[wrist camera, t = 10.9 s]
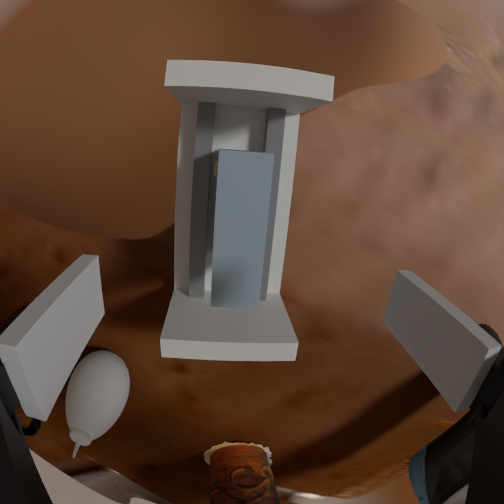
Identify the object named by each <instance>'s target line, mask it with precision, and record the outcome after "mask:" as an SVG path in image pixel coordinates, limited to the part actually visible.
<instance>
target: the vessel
mask: <svg viewBox="0 0 504 504" xmlns="http://www.w3.org/2000/svg"><path fill="white" fill-rule="evenodd" d="M204 456H205V457H204V460H205V462H206V463H208V465H210V473H209V483H208V486H209V489H210V492H209V498H210V501H209V504H280V500H279V498H278V495H277V491H276V487H275V483H274V478H273V474H272V470H271V469H270V466H271V464H272V460H271V459H269V458H268V457H271V452H270V451H269V447H265V448H263V446H262V445H261V444H255V445H254V444H253V443H250V444H246V443H243V442H235V443H227V442H224V443H223V444H219V445H215V446H213V447H212V448H211V449H210V450H207V451H205V453H204Z"/></svg>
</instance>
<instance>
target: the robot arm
mask: <svg viewBox="0 0 504 504" xmlns="http://www.w3.org/2000/svg"><path fill="white" fill-rule="evenodd" d="M104 314H105V312H104V304H103V297H102V288H101V279H100V268H99V256H98V255H81V256H80V257H79V258H78V259H77V260H76V261H75V262H74V263H73V264H71V265H70V266H69V267H68V268H67V269H66V270H65V271H64V272H63V273H62V274H61V275H60V276H58V277H57V278H56V279H55V280H54V281H53V282H52V283H51V284H50V285H49V286H48V287H47V288H46V289H45V290H44V291H43V292H42V293H41V294H40V295H39V296H38V297H37V298H36V299H35V300H34V301H33V302H32V303H31V304H30V305H25V306H23V307H22V308H20V309H18V310H16V311H15V312H14V313H13V314H12V315H11V316H10V317H9V318H8V320H6V321H5V322H4V323H3V324H2V326H0V504H53V503H52V501H51V500H50V497H49V495H48V493H47V491H46V489H45V486H44V484H43V482H42V480H41V477H40V475H39V473H38V470H37V468H36V466H35V463H34V461H33V458H32V456H31V453H30V450H29V448H28V445H27V442H26V439H25V436H24V433H23V430H22V427H21V424H20V421H19V418H18V416H17V414H16V412H15V409H16V407H17V406H18V404H19V402H20V404H21V406H22V408H23V410H24V412H25V414H26V416H29V417H32V418H36V419H39V420H42V421H47V419H48V416H49V414H50V412H51V410H52V408H53V406H54V404H55V402H56V400H57V398H58V396H59V394H60V392H61V390H62V389H63V387H64V385H65V383H66V381H67V379H68V377H69V375H70V373H71V372H72V370H73V368H74V366H75V364H76V362H77V361H78V359H79V357H80V355H81V353H82V352H83V350H84V348H85V346H86V345H87V343H88V341H89V339H90V338H91V336H92V334H93V332H94V331H95V329H96V327H97V326H98V324H99V322H100V321H101V319H102V317H103V316H104ZM383 322H384V324H385V325H386V326H387V327H388V328H389V330H390V331H391V332H392V333H393V335H394V336H395V337H396V338H397V339H398V341H399V342H400V343H401V344H402V345H403V347H404V348H405V349H406V350H407V352H408V353H409V354H410V355H411V357H412V358H413V359H414V360H415V362H416V363H417V364H418V365H419V367H420V368H421V369H422V370H423V372H424V373H425V374H426V375H427V377H428V378H429V379H430V381H431V382H432V383H433V384H434V386H435V387H436V388H437V390H438V391H439V392H440V394H441V395H442V396H443V397H444V399H445V400H446V401H447V403H448V404H449V405H450V407H451V408H452V409H453V411H454V412H455V413H456V412H459V411H462V410H464V409H467V408H470V411H469V412H468V413H467V414H465V415H464V416H463V417H462V418H461V419H460V420H458V421H457V422H456V423H455V424H454V425H452V426H451V427H450V428H449V429H447V430H446V431H445V432H443V433H442V434H441V435H440V436H438V437H437V438H436V439H434V440H433V441H432V442H429V443H428V444H426V446H425V447H424V448H423V449H422V450H420V451H419V452H418V453H416V454H415V455H414V456H413V457H412V458H411V460H410V462H409V477H410V481H411V484H412V487H413V490H414V493H415V495H416V496H417V497H418V500H419V502H420V504H504V346H503V344H502V342H501V340H500V339H499V336H498V334H497V333H496V332H495V331H494V330H493V329H492V328H491V327H490V326H488V325H486V324H480V325H477V324H476V323H475V322H474V321H473V320H472V319H470V318H469V317H468V316H467V315H466V314H464V313H463V312H462V311H461V310H460V309H458V308H457V307H456V306H455V305H453V304H452V303H451V302H450V301H448V300H447V299H446V298H445V297H443V296H442V295H441V294H440V293H438V292H437V291H436V290H435V289H433V288H432V287H431V286H429V285H428V284H427V283H426V282H424V281H423V280H422V279H420V278H419V277H418V276H416V275H415V274H414V273H413V272H411V271H410V270H397V272H396V276H395V280H394V284H393V288H392V291H391V295H390V299H389V302H388V306H387V309H386V313H385V316H384V320H383Z"/></svg>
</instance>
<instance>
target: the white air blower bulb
mask: <svg viewBox="0 0 504 504" xmlns="http://www.w3.org/2000/svg"><path fill="white" fill-rule="evenodd" d="M129 388H130V379H129V372H128V369H127V367H126V364H125V363H124V361H123V360H122V359H121V358H120V357H119V356H117V355H116V354H114V353H112V352H110V351H106V350H99V351H95V352H92V353H91V354H89V355H87V356H86V357H85V358H83V359H82V360H81V361H80V363H79V364H78V365H77V366H76V368H75V370H74V372H73V374H72V376H71V378H70V381H69V384H68V388H67V393H66V403H65V407H66V417H67V422H68V426H69V428H70V433H69V435H70V438H71V439H72V440H73V441H74V442H76V444H75V448H74V451H73V458H74V457H75V455H76V453H77V451H78V448H79V446H80V445H83V446H88V445H89V444H90V443H91V441H92V440H94V439H96V438H98V437H100V436H101V435H103V434H104V433H105V432H106V431H108V430H109V429H110V428H111V427H112V425H113V424H114V423H115V422H116V420H117V419H118V418H119V416H120V415H121V413H122V411H123V409H124V406H125V404H126V401H127V398H128V394H129Z"/></svg>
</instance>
